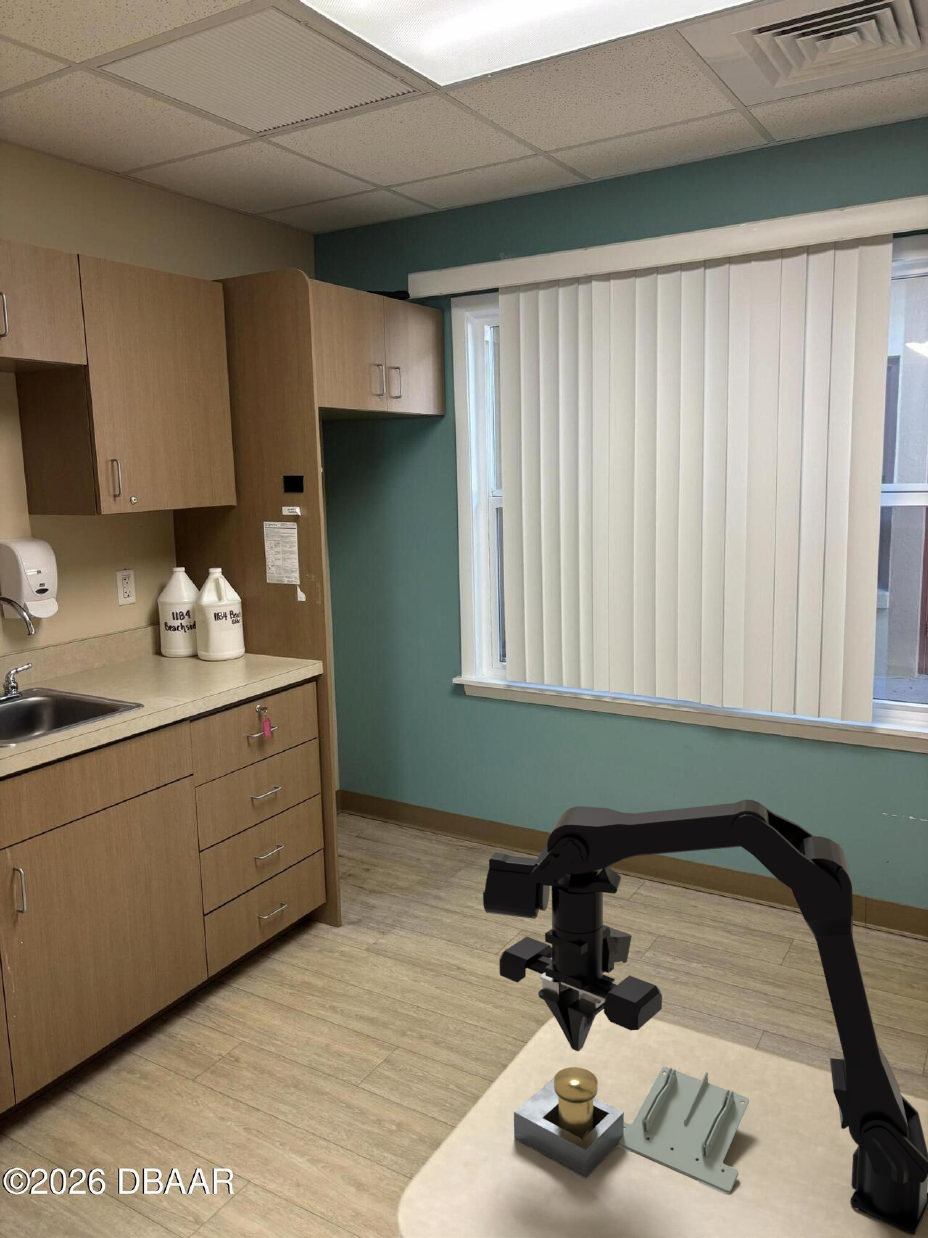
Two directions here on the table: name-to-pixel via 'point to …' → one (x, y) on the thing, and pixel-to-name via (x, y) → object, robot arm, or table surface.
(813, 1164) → the table surface
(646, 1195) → the table surface
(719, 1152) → the metal bracket
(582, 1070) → the knob
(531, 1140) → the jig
